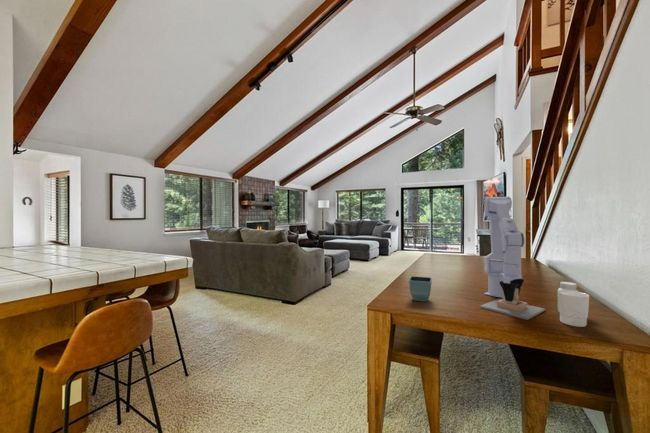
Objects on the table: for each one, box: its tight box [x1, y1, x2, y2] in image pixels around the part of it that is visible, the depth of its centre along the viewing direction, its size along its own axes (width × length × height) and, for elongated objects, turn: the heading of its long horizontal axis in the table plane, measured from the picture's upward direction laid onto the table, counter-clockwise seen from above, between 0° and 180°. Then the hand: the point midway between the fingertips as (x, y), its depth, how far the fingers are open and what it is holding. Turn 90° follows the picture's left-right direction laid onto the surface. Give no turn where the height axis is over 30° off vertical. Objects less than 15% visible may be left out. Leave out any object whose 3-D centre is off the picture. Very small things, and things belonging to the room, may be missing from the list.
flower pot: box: [408, 275, 433, 303], centre depth 123 cm, size 9×9×9 cm
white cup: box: [557, 290, 590, 328], centre depth 97 cm, size 8×8×10 cm
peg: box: [502, 288, 519, 305], centre depth 111 cm, size 4×4×7 cm
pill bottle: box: [556, 281, 580, 313], centre depth 106 cm, size 6×6×11 cm
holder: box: [480, 298, 546, 321], centre depth 111 cm, size 16×16×3 cm
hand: (512, 299), depth 111 cm, fingers open, 7 cm apart
